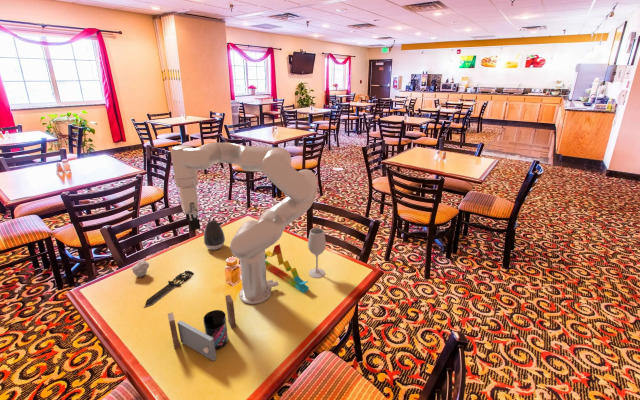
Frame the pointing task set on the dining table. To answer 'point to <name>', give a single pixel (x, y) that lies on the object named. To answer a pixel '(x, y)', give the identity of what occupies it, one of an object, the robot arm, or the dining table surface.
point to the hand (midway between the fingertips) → (193, 224)
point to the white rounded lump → (140, 268)
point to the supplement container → (216, 327)
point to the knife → (167, 288)
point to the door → (197, 340)
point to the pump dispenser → (214, 235)
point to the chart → (294, 280)
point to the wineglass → (316, 249)
